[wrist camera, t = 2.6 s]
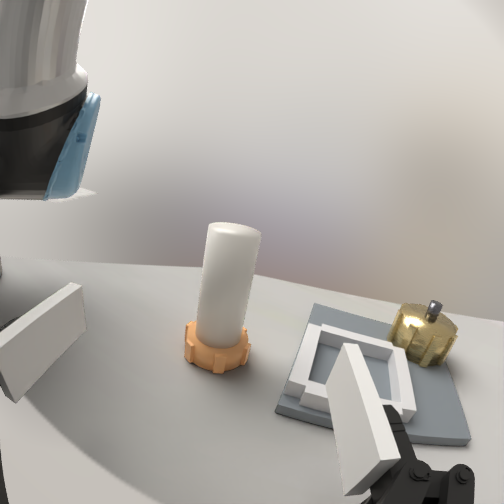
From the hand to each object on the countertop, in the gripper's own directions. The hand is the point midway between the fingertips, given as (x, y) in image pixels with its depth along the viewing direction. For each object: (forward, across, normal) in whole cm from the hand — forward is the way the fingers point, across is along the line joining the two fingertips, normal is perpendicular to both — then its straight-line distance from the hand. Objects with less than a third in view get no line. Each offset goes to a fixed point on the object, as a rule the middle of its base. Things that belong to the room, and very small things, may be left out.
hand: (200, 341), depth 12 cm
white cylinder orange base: (+10, 0, -8) cm, 13 cm away
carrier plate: (+11, +16, -8) cm, 21 cm away
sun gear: (+14, +23, -8) cm, 28 cm away
